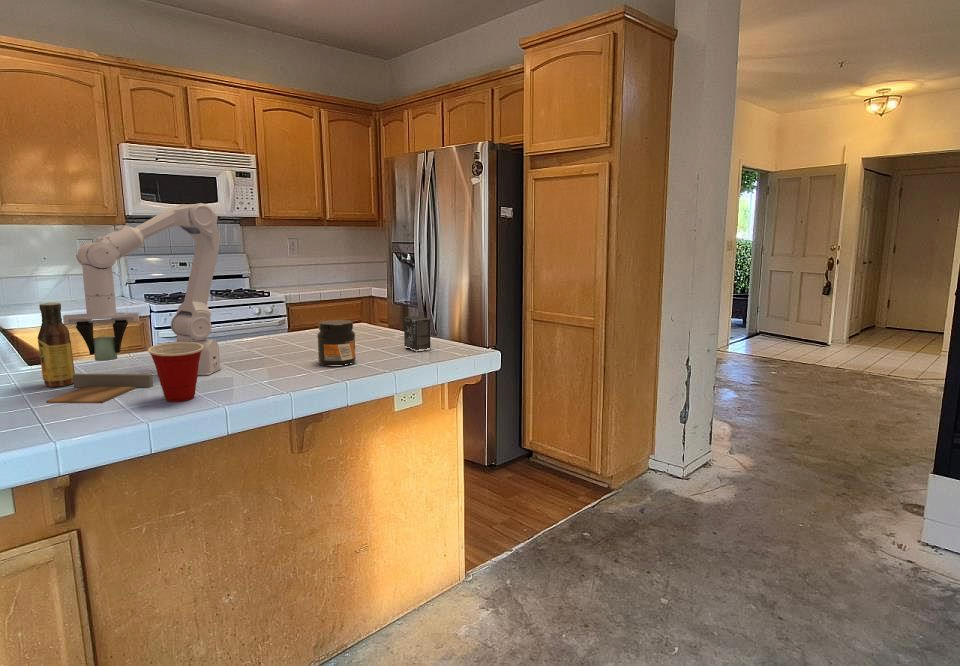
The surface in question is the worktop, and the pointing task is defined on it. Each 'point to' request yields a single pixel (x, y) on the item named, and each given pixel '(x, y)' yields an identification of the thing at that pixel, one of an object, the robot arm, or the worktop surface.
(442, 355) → the worktop surface
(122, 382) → the taupe wall
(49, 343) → the sauce bottle
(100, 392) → the walnut board
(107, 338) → the sage green cylinder
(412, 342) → the box
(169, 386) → the plastic cup
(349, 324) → the supplement container
